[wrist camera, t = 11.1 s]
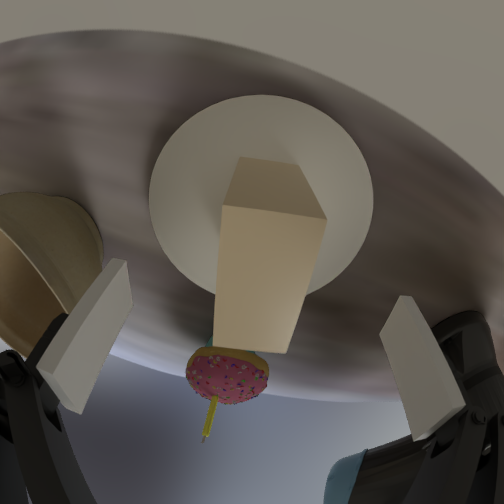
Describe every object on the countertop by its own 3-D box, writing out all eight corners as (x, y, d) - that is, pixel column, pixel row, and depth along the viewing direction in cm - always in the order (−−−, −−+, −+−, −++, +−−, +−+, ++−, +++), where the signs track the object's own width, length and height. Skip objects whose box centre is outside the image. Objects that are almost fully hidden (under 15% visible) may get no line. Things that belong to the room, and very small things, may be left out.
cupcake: (224, 371, 33) (215, 456, 23) (177, 334, 30) (151, 428, 19) (282, 349, 30) (287, 445, 20) (237, 304, 27) (226, 415, 17)
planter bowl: (18, 148, 18) (-61, 188, 9) (147, 189, 21) (75, 262, 12) (23, 269, 26) (-24, 325, 17) (126, 318, 29) (92, 396, 20)
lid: (390, 123, 17) (479, 154, 8) (335, 303, 26) (358, 393, 17) (158, 88, 16) (73, 88, 8) (158, 281, 25) (119, 368, 16)
